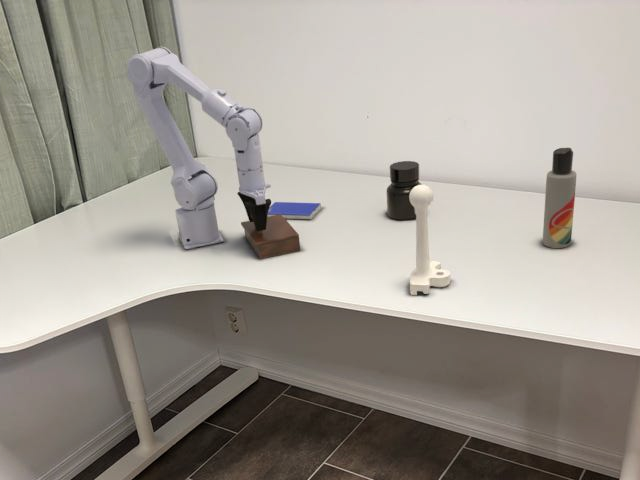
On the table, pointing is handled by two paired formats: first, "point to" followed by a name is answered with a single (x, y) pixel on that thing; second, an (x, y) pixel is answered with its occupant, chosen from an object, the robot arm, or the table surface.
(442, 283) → the joystick
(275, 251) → the case
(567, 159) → the lotion bottle
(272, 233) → the lid
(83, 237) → the table surface
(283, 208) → the hard drive
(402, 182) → the ink bottle
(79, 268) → the table surface
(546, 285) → the table surface
